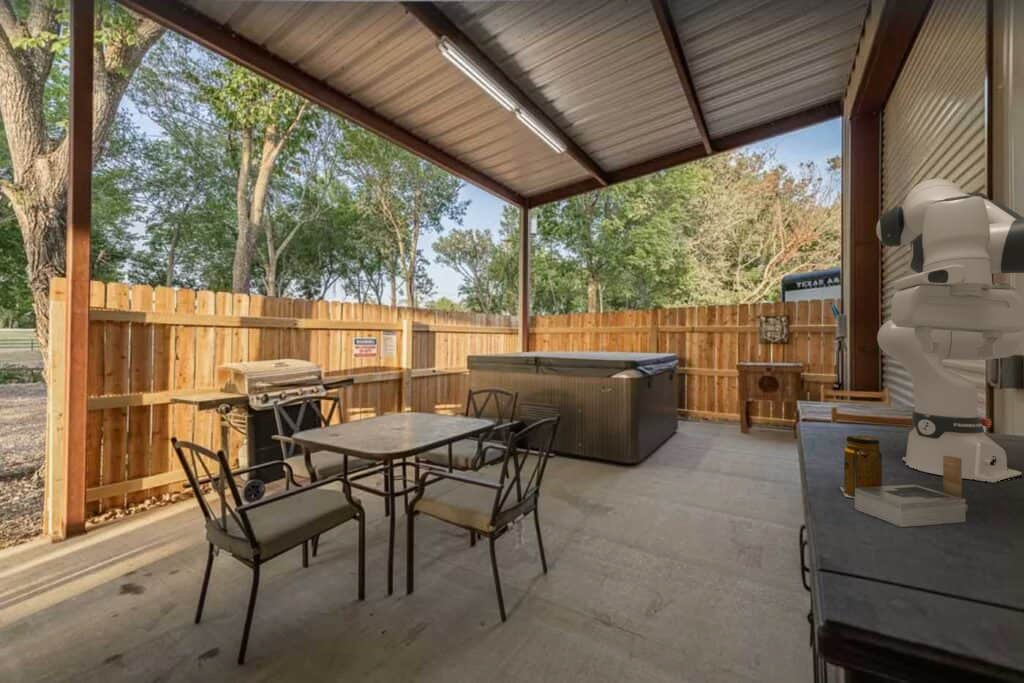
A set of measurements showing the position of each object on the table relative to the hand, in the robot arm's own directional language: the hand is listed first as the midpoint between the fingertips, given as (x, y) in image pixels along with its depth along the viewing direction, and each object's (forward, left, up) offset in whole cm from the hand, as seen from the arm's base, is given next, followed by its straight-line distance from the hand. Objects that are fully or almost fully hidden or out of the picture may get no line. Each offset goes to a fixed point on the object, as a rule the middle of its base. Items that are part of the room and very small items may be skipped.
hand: (958, 354), depth 77 cm
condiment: (+6, -11, -30) cm, 32 cm away
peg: (-2, -2, -30) cm, 30 cm away
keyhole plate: (+9, -2, -30) cm, 31 cm away
